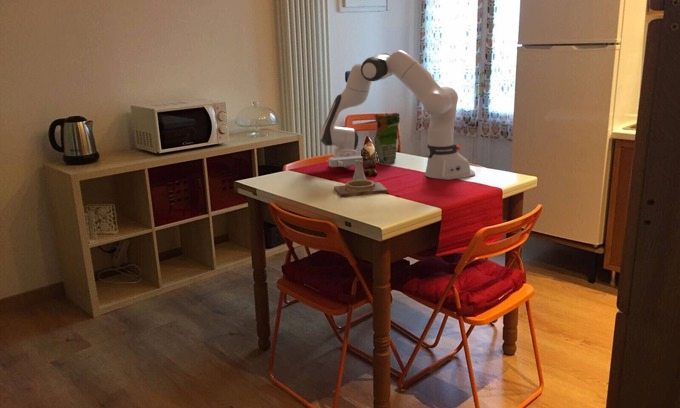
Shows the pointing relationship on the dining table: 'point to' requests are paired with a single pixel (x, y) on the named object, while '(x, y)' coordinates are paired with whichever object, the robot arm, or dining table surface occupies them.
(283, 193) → the dining table surface
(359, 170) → the flask
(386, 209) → the dining table surface
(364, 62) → the robot arm
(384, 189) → the collar holder
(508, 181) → the dining table surface
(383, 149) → the pouch
